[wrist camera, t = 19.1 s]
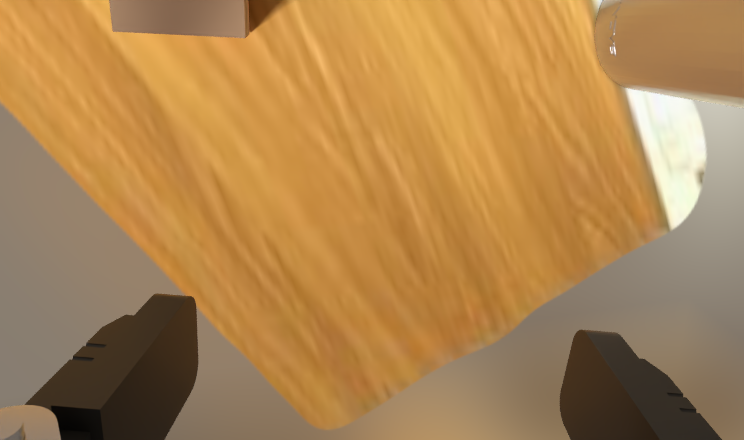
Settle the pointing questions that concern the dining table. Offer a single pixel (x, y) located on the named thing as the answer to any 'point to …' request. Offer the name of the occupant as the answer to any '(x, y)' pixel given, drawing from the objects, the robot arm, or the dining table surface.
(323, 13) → the dining table surface
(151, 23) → the walnut block
